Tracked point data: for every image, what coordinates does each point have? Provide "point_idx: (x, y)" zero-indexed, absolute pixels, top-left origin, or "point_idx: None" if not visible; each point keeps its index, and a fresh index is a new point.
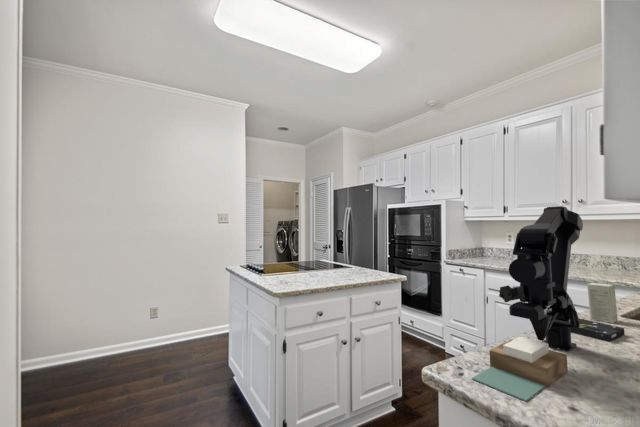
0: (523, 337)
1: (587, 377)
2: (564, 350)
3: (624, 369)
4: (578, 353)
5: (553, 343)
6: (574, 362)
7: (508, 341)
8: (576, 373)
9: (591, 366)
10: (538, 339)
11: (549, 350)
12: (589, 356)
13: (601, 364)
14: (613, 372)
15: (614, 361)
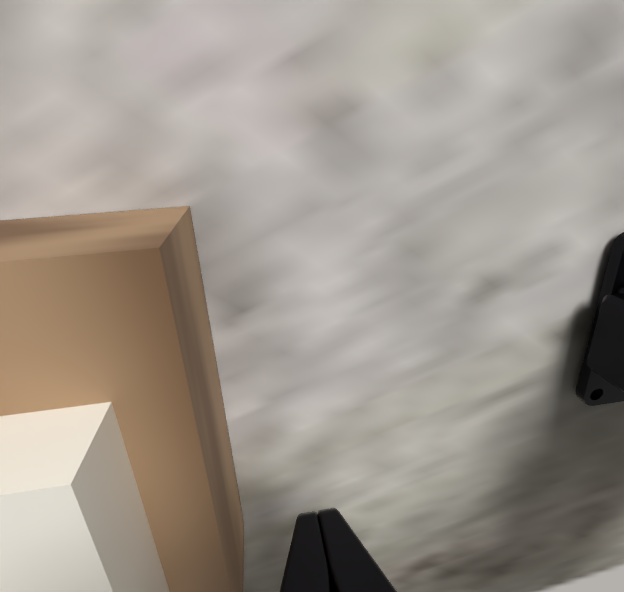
0: (67, 522)
1: (268, 575)
2: (578, 382)
3: (500, 584)
4: (589, 427)
5: (609, 349)
6: (423, 476)
7: (46, 270)
8: (271, 541)
9: (431, 528)
10: (298, 519)
11: (216, 575)
12: (575, 469)
13: (495, 533)
14: (429, 584)
15: (577, 537)
